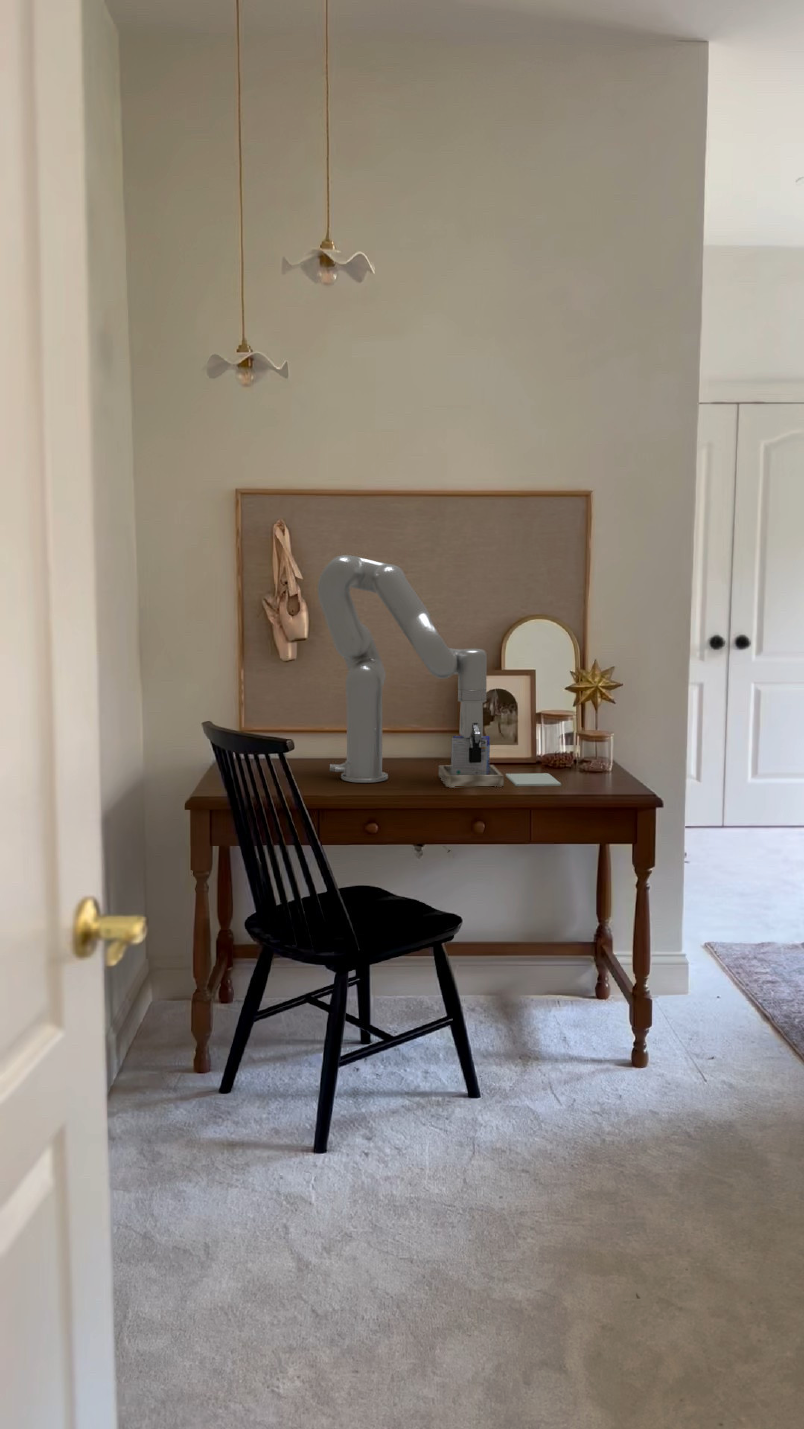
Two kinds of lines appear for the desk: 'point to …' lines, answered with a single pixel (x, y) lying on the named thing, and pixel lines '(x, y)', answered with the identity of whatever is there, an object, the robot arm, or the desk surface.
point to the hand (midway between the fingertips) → (471, 759)
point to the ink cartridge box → (461, 757)
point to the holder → (470, 778)
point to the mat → (533, 779)
